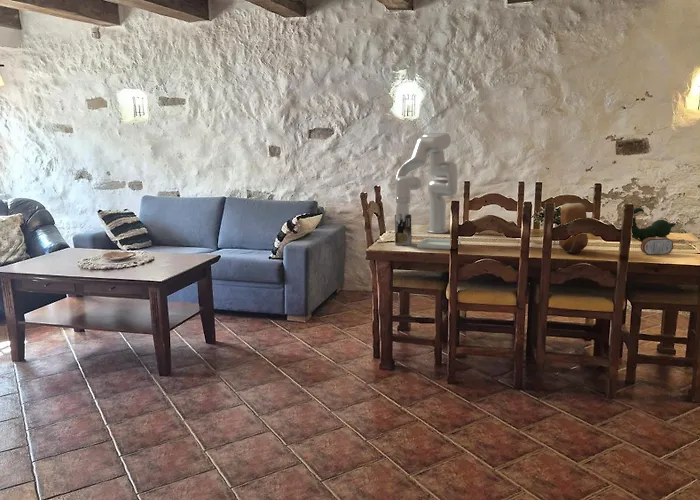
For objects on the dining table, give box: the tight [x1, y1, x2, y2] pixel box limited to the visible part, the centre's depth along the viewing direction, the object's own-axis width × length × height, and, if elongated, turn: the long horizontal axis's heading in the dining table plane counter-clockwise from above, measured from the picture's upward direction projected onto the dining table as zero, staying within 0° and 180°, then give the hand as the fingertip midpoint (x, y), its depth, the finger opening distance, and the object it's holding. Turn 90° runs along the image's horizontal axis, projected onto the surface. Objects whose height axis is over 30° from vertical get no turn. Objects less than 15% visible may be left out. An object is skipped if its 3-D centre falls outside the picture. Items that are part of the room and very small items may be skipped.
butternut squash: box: [558, 202, 589, 254], centre depth 281 cm, size 14×13×25 cm
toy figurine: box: [631, 207, 677, 241], centre depth 306 cm, size 9×19×25 cm
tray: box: [416, 237, 461, 251], centre depth 307 cm, size 16×20×2 cm
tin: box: [640, 237, 674, 256], centre depth 275 cm, size 15×3×8 cm, turn 92°
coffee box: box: [394, 213, 413, 246], centre depth 313 cm, size 9×6×16 cm
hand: (402, 231), depth 313 cm, fingers open, 9 cm apart
